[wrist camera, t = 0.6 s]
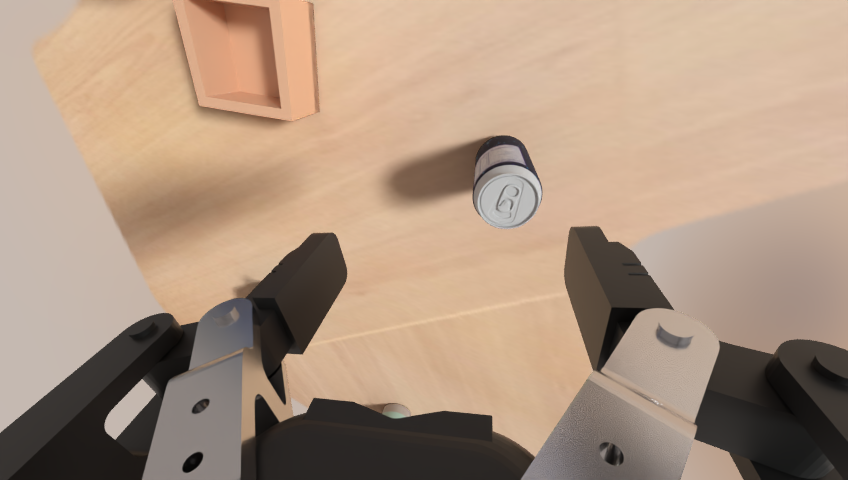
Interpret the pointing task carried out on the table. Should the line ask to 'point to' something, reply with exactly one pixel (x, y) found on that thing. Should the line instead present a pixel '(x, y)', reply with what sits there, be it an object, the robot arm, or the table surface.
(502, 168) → the beverage can
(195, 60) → the tan open box
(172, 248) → the table surface
